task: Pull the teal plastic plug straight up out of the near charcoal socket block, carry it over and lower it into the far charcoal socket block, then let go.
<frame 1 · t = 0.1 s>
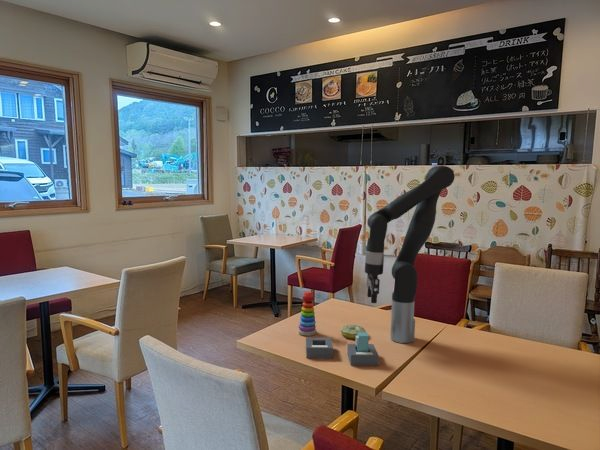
hand: (371, 299, 171), 17 cm above the table, tool pointing down, fingers open, 8 cm apart
near socket block: (362, 359, 153), on the table
far socket block: (318, 352, 159), on the table
plug: (361, 346, 153), in the near socket block
decorated donut: (353, 336, 177), on the table
stacking toy: (307, 333, 179), on the table
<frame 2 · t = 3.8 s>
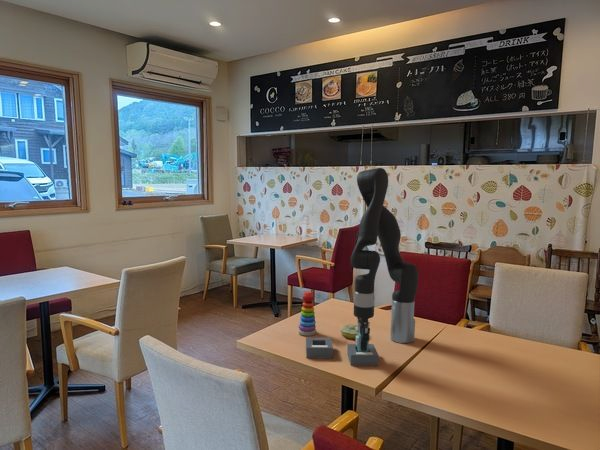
hand: (362, 347, 153), 5 cm above the table, tool pointing down, fingers closed on plug, 3 cm apart
plug: (361, 346, 153), in the near socket block, touching gripper
everything else where it was.
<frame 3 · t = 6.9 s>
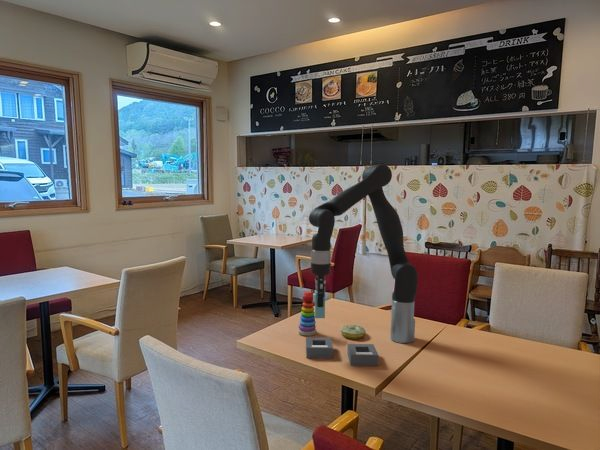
hand: (319, 305, 157), 19 cm above the table, tool pointing down, fingers closed on plug, 3 cm apart
plug: (318, 304, 157), point 20 cm above the table, touching gripper
everything else where it was.
when the fingers open (6 cm above the table, at t = 10.2 s): plug drops 2 cm, resting in far socket block.
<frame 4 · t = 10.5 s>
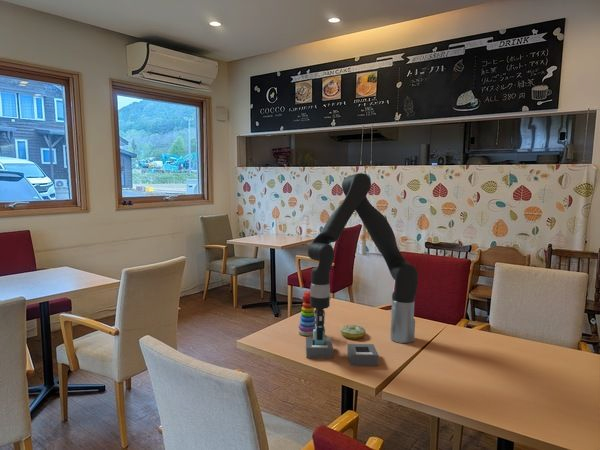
hand: (319, 336, 158), 7 cm above the table, tool pointing down, fingers open, 6 cm apart
plug: (318, 340, 158), in the far socket block
everything else where it was.
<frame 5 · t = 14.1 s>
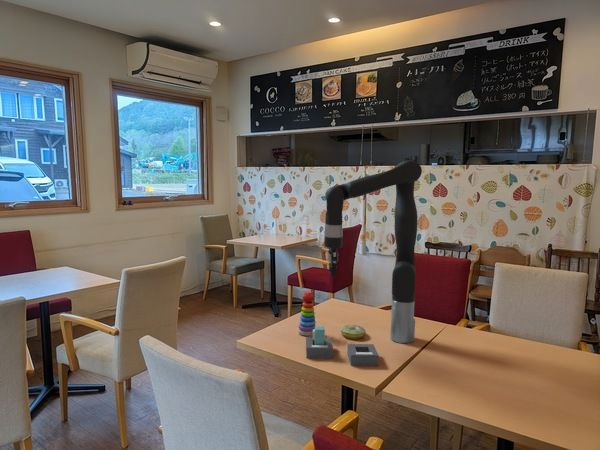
hand: (332, 273, 170), 28 cm above the table, tool pointing down, fingers open, 8 cm apart
nothing on the table moved.
at the end: plug 0.1 cm off-centre on the far socket block, point 5.0 cm above the far socket block's base; plug tilted 0°; the gripper is holding nothing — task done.
